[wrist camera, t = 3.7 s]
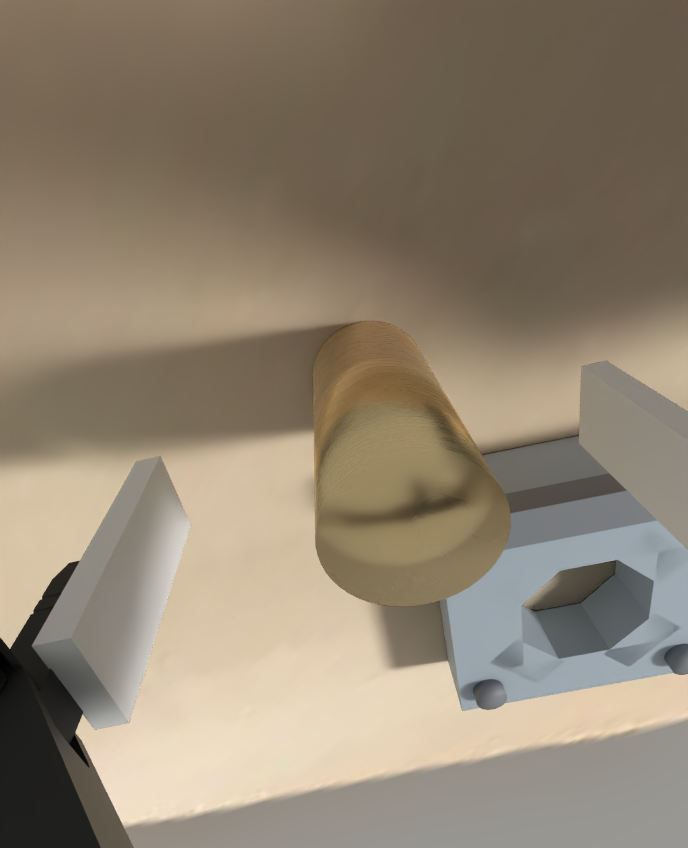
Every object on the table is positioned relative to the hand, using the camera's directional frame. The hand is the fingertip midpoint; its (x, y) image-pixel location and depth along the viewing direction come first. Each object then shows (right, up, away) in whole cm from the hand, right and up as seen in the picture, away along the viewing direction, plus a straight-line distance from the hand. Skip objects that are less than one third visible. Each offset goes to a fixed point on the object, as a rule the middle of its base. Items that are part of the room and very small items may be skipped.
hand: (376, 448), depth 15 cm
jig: (+10, -6, +10) cm, 16 cm away
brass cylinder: (0, +3, +5) cm, 6 cm away
